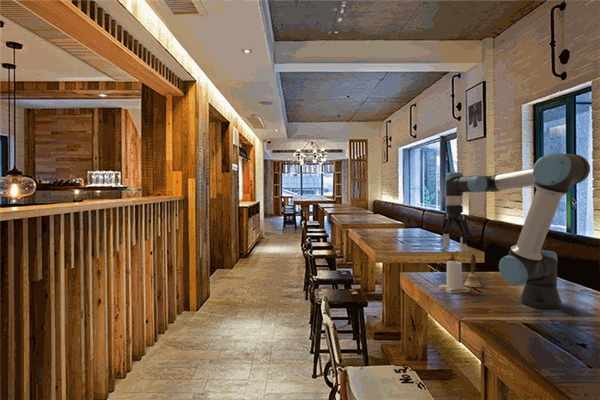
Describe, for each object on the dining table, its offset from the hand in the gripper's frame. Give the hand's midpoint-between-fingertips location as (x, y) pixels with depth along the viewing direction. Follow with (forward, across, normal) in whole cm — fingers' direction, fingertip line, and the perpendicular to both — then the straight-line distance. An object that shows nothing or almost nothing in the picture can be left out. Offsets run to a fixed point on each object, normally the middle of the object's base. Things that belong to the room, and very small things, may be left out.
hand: (454, 249), depth 197 cm
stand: (+20, +1, 0) cm, 20 cm away
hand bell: (+20, +6, -14) cm, 25 cm away
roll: (+18, +1, 0) cm, 19 cm away
